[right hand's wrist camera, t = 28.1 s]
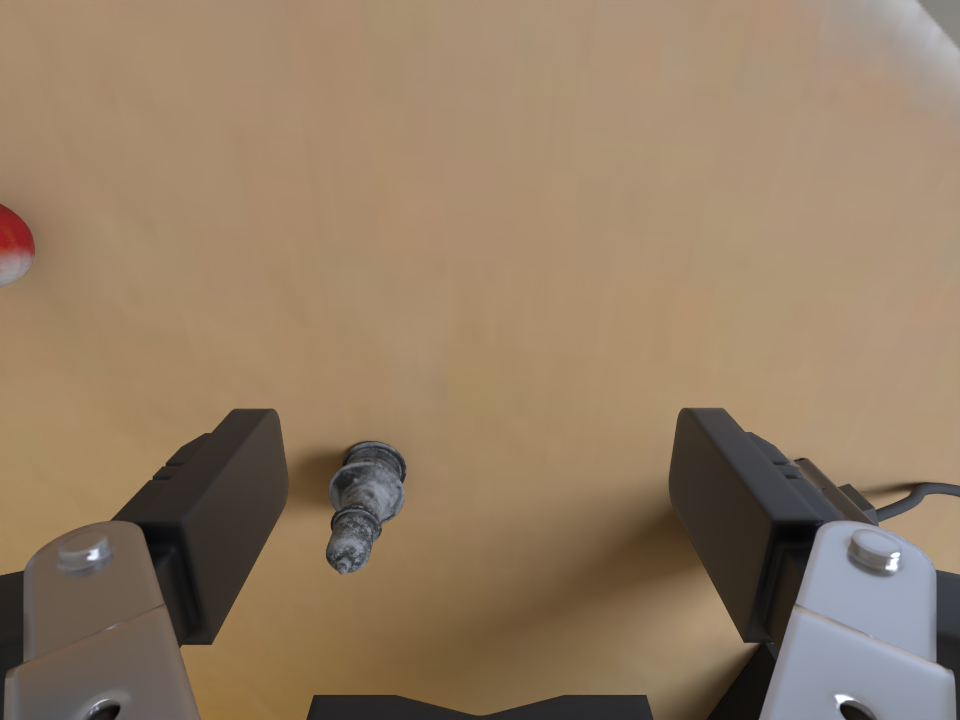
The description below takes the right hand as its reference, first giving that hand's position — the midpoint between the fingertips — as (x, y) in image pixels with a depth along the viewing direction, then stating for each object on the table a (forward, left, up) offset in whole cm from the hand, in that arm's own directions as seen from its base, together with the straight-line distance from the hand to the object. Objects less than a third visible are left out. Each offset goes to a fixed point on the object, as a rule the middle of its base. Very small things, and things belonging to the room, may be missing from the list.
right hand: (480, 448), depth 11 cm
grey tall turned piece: (+16, +15, -30) cm, 37 cm away
